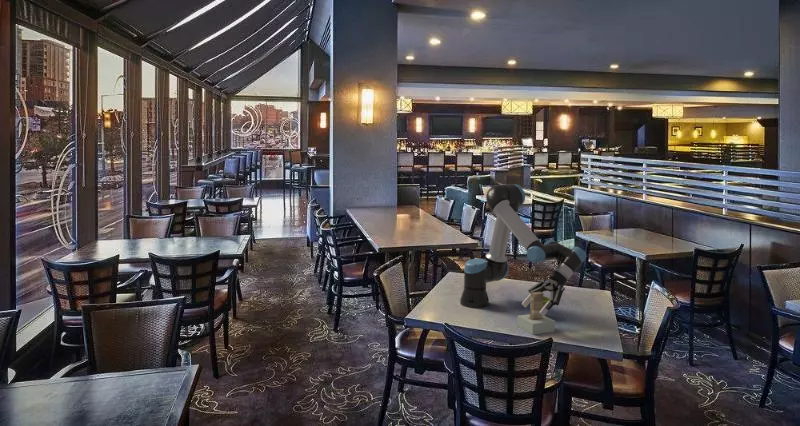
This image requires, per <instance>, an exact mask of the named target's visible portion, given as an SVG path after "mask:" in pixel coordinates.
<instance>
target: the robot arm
mask: <svg viewBox="0 0 800 426" xmlns="http://www.w3.org/2000/svg"><path fill="white" fill-rule="evenodd" d="M485 198H486V203H487V206H488V208H489V209H490V210H491V212H492V213H493V214H494V215H496V218H495V223H494V227H493V233H492V237H491V241H490V246H489V251H488V252H487V253H486V254H485V256H484V258H471V259H468V260H467V261H466V262H465V263H464V275H463V276H464V278H463V279H464V280H463V291H462V292H461V297H460V299H459V304H461V305H462V306H463V307H464V306H465V307H468V308H477V309H478V308H479V309H481V308H486V307H489V305H490V299H489V296H488V292H487V283H491V282H497V281H498V282H499V281H501V280H503V279H505V278H507V276H508V274H509V272H510V271H509V270H510V266H509V262H508V258H507V257H506V252H507V248H508V243H509V238H510V235H511V234H510V233H512V234H513V235H514V237H515V238H516V239H517V240H518V242H520V244H521V245H522V247H524V248H525V250H526V257H527V259H528V261H529V262H531V263H533V264H535V263H543V262H547V261H553V260H556V261H558V262H560V263H558V265H557V266H556V267H555V269H554V270H553V271H552V273H551V274H550V275H549V279H546V278H545V277H544V278H542V280H540V281H539V282H538V283H536V284H535V285H533V286H532V287H530V288H529V289H528V290H527V291H528V295H526V297H525V299H524V300H523V301H522V303H521V305H522V306H523V307H524V308H527V307H528V306H529V304H531V293H532V292H542V293H544V292H550V297H549V298H550V300H549V301H548V302H547V303H546V305H545V306H544V307H543V308H542V309H541V311H540V314H541V315H542V316H544V315H545V314H546V315H547V313H548V312H549V311H550V310H551V309H552V308H553V307H554V306H559V305H560V301H561V299H562V296H563V294H564V291H565V290H566V288H565V284H567V282H568V280H570V279H571V278H572V276H573V274H574V273H575V272H576V271H577V270H578V268H579V267H580V266H581V265H582V264H583V263H584V261H585V260H586V259H587V253H586V251H585V250H584V249H582V248H580V247H578V246H576V245H575V246H573V247H572V248H570V247H567V246H565V245H563V244H561V243H559V242H557V241H556V240H553V239H549V240H547V241H546V242H545V243H544V244H543V243H542V242H541V241H540V240H539V238H538V237H537V236H536V234H534V232H533V231H532V230H531V229H530V228H529V226H528V225H527V224H526V223H525V222H524V220H523V219H522V218H521V217H520V216H519V215H518V211H519V209H520V207H521V206H522V205H524V203H525V201H526V193H525V190H524V188H523V187H522V186H521V185H519V184H517V183H515V184H513V183H509V184H496V185H492V186H491V187H490V188H489V189H488V190H487V192H486V196H485Z"/></svg>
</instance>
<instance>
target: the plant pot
mask: <svg viewBox="0 0 800 426" xmlns="http://www.w3.org/2000/svg"><path fill="white" fill-rule="evenodd" d="M549 300H550V297H548V296H544V295H543V307H544V306H545V305H546V303H547V302H548V301H549ZM549 302H550V301H549ZM544 316H546V317H547V313H546V314H545V315H544Z"/></svg>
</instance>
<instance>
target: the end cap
mask: <svg viewBox="0 0 800 426" xmlns="http://www.w3.org/2000/svg"><path fill="white" fill-rule="evenodd" d="M516 318H517V319H516V326H517V328H520V329H521V330H523V331H525V332H527V333H529V334H531V335H538V334H546V333H547V334H548V333H554V332H556V331H555V329H556V320H554V319H552V318H551V317H548V316H547V315H546V316H542V319H540V320H530V313H528V314H519V315H517V317H516Z"/></svg>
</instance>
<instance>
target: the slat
mask: <svg viewBox="0 0 800 426" xmlns="http://www.w3.org/2000/svg"><path fill="white" fill-rule="evenodd" d="M543 296H544V292H532V293H531V302H530V306H529V307H530V309H529V314H530V320H540V319H542V315H541V314H540V311H541V309H542V308H543Z"/></svg>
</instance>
